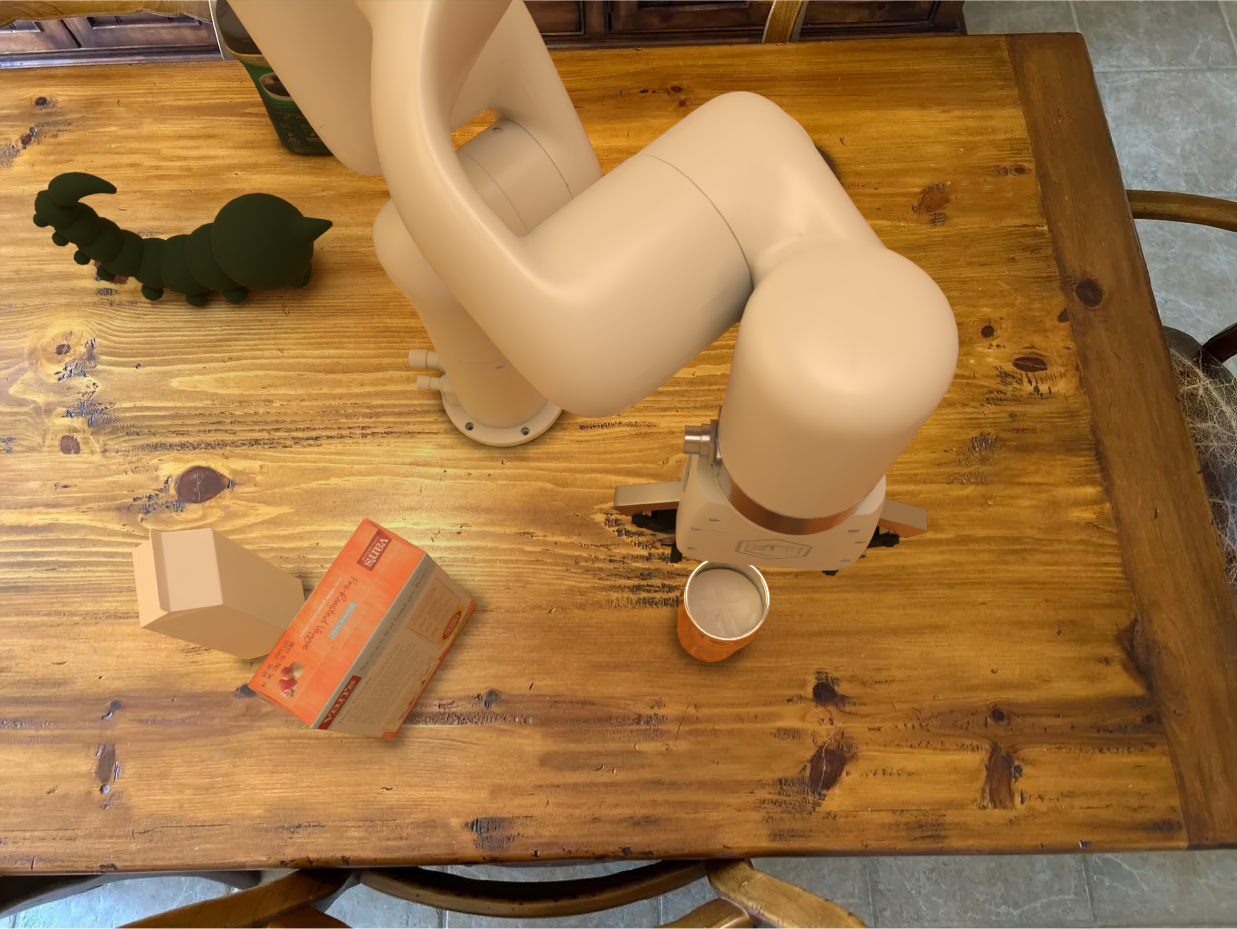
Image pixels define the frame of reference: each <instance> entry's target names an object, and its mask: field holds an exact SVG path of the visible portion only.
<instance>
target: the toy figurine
mask: <svg viewBox="0 0 1237 929" xmlns="http://www.w3.org/2000/svg"><path fill="white" fill-rule="evenodd" d="M117 192H118V188H117V187H116V185H115V184H114V183H111V182H110V181H108V180H107V179H103V178H102V177H99V176H97V175H96V174H95V175H94V174H91V173H88V172H82V171H81V172H80V171H72V172H71V171H70V172H63V173H61V174H58V175H56V176H55V177H53V178H52V179H51V180H49V183H48V184H47V189H43V190H39V191H38V192H37V193H36V194H37V195H36V198H35V199H34V211H35V213H34V214H33V216H32V222H33V224H34V225H35V226H36V227H37V228H41V229H42V228H48V227H52V228H53V230H54V232H53V233H52V235H51V241H52V243H53V244H54V245H55V246H57V247H61V248H62V247H63V248H64V247H66V246H68V245H69V244H72V245H75V246H76V247H77V250H75V251H74V254H73V261H74V262H75V263H76V264H77V265H80V266H86V265H89V264H90V263H91V260H92V261H95V262H98V263H100V264H99V265H98V267H97V268H96V277H98V278H99V280H101V281H102V282H103V281H104V282H112V281H114V280H115V278H116V277H121V278H134V279H135V280H136V281H137V282H138V283H140V284H141V289H140V293H141V295H142V296H143V297H144V299H147V300H148V301H152V302H156V301H159V300H160V299H162V298H163V297H164V294H165V289H168V290H170V292H174V293H177V294H179V295H182V296H185V301H186V302H187V304H188V305H190V306H193V307H196V308H200V307H203V306H205V304H206V303H207V300H208V297H207V293H208V292H210V291H217V292H220V294H221V295H222V297H223V298H224V300H225V301H226V302H227V303H231V304H236V305H240V304H243V303H244V302H246V301H247V300H248V299H249V295H250V290H254V291H261V292H273V291H279V290H280V291H281V290H285V289H287V288H289V287H291V288H294V289H301V288H304V287H306V286H307V285H308V284H309V283H310V281H311V278H312V276H313V275H312V274H313V262H312V261H313V257H314V253H315V241H317V240H318V239H319V238H320V237H321V236H323V235H324V234H325V233H326V232H328V231H329V230H331V228H332V227H333V226H334V223H333V221H332V220H331V219H326V218H318V217H311V216H304V214H303V213H302V212H301V211H300V210H299V209H298V208H297V207H296V206H295V205H293V204H292V202H291V203H290V202H289V201H288V200H286V199H284V198H282V197H280V196H277V195H275V194H271V193H264V192H252V193H251V192H250V193H245V194H242V195H240V196H238V197H235V198H232V199H230V200H229V201H228V202H227V203H225V204H224V205H223V206H222V208H220V210H219V211H218V213H217V214H216V216H215V217H214V219H213V222H207V223H204V224H201V225H200V226H198V227H196V228H195V229H194V230H193V231H191V232H190V233H189V234H188V233H182V234H176V235H172V236H169V237H167V238H166V239H165V238H163V237H157V236H156V237H154V236H150V237H145V238H143V237H142V236H141V235H139V234H137V233H136V232H134V231H132V230H128V229H125V228H124V229H123V228H121V227H120V226H119V225H118V224H117V223H116V222H114V221H113V220H111V219H109V218H108V217H104V216H100V215H99V214H98V213H97V211H96V210H95V209H94V208H93V207H92V206H90V205H88V203H85V202H82V201H80V200H81V199H83V198H85V197H89V196H92V195H98V194H99V195H100V194H105V195H106V194H107V195H115V194H117Z"/></svg>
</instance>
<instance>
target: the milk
mask: <svg viewBox="0 0 1237 929" xmlns="http://www.w3.org/2000/svg"><path fill="white" fill-rule="evenodd" d="M148 534H149V535H148V536H149V539H147V540H146V541H143V542H142V543H140V544H139V545H137V546H136V547H135V548H134V547H133V549H132V550H131V557H132V567H133V575H134V584H135V591H136V593H135V594H136V601H137V609H138V610H137V611H138V617H139V618H138V620H139V627H140V628H141V629H144V630H148V631H151V632H153V633H157V634H161V635H164V636H167V637H169V638H170V637H171V638H174V639H178V640H181V641H184V642H187V643H191V644H194V645H198V646H201V647H204V648H208V649H211V650H214V651H216V652H217V651H218V652H221V653H224V654H227V655H231V656H234V657H238V658H241V659H244V660H247V661H249V660H253V659H257V658H260V657H263V656H268V655H269V653H270V652H271V650H272V649H273V648H274V646H275V645H276V643H277V642H278V640H279V639H280V638H281V636H282V635H283V633H284V632H285V631H286V629H287V628H288V626H289V625H290V624H291V622H292V621H293V620H294V618H295V617H296V615H297V614H298V612H299V611H300V609H301V608H302V606H303V605H304V603H305V602H306V598H305V592H304V588H303V581H302V580H301V579H300V578H298V577H296V576H295V575H293V574H291V573H289V572H287V571H286V570H284V569H283V568H281V567H279V566H277V565H276V564H274V563H272V562H271V561H269V560H267V559H265V558H263V557H262V556H261V555H258V554H257V553H255V552H253V551H252V550H250V549H249V548H246V547H245V546H243V545H241V543H238V542H236V541H235V540H233V539H231V538H229V536H227V535H224V534H223V533H221V532H220V531H218V530H216V529H214V528H213V527H204V528H195V529H183V530H173V531H164V532H161V531H158V530H157V529H155V528H149V530H148Z"/></svg>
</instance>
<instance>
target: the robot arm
mask: <svg viewBox="0 0 1237 929" xmlns="http://www.w3.org/2000/svg"><path fill="white" fill-rule="evenodd" d="M227 2H228V3H229V5H230V6H231V8H232V9H233V11H234V12H235V14H236V15H237V17H238V18H239V20H240V21H241V23H242V24H243V26H244V27H245V29H246V30H247V32H248V33H249V35H250V36H251V38H252V39H253V41H254V42H255V44H256V45H257V46H258V48H259V49H260V51H261V52H262V54H263V55H264V57H265V58H266V60H267V61H268V63H269V64H270V66H271V67H272V69H273V70H274V72H275V73H276V75H277V76H278V78H279V79H280V81H281V82H282V84H283V85H284V87H285V88H286V90H287V91H288V92H289V94H290V95H291V97H292V98H293V100H294V101H295V103H296V104H297V106H298V107H299V109H300V110H301V112H302V113H303V114H304V116H305V117H306V119H307V120H308V122H309V123H310V125H311V126H312V128H313V129H314V130H315V132H316V133H317V134H318V136H319V137H320V138H321V140H322V141H323V142H324V144H325V145H326V146H327V147H328V149H329V150H330V151H331V152H332V153H331V154H332V155H333V156H334V157H335V158H336V159H337V160H338V161H339V163H341V164H342V165H343V166H344V167H345V168H346V169H349V171H352V172H353V173H355V174H357V175H360V176H364V177H377V176H383V178H384V182H385V184H386V188H387V190H388V193H389V195H390V198H388V200H386V202H385V203H384V204H383V206H382V207H381V208H380V210H379V211H378V213H377V215H376V216H375V218H374V221H373V224H372V229H371V240H372V241H371V243H372V246H373V251H374V253H375V255H376V257H377V259H378V262H379V264H380V265H381V267H382V269H383V270H384V272H385V273H386V275H387V276H388V278H389V279H390V280H391V282H392V283H393V284H394V285H395V286H396V288H397V289H398V290H399V291H400V292H401V293H402V295H403V296H404V297H405V298H406V300H407V301H408V302H409V304H410V305H411V306H412V307H413V309H414V310H415V312H416V314H417V315H418V317H419V319H420V321H421V323H422V325H423V327H424V329H425V331H426V334H427V336H428V338H429V340H430V341H431V344H432V346H433V348H434V350H431V349H425V348H424V349H423V348H414V347H413V348H410V349H409V351H408V353H407V354H408V355H407V363H408V367H409V368H410V369H423V370H429V369H435V370H439V371H440V373H441V376H440V377H439V376H432V375H421V374H418V375H417V377H416V389H418V390H424V391H433V390H434V391H440V394H441V401H442V404H443V407H444V410H445V412H446V414H447V416H448V418H449V419H450V421H451V423H452V424H453V425H454V427H456V428H457V430H458V431H459V432H461V433H462V434H463V435H464V436H466V437H467V438H469V439H471V440H472V441H474V442H476V443H479V444H482V445H485V446H489V447H500V448H505V447H506V448H507V447H515V446H518V445H522V444H526V443H528V442H530V441H532V440H535V439H537V438H539V437H540V436H541V435H543V434H544V433H546V432H547V431H548V430H550V428H551V427H552V426H553V425H554V424H555V423H556V421H558V419H559V417H560V416H561V414H562V413H563V411H566V412H568V413H570V414H573V415H575V416H577V417H581V418H586V419H605V418H611V417H614V416H616V415H619V414H622V413H624V412H626V411H627V410H629V409H632V408H633V407H635V406H637V405H639V403H641V402H642V401H644V400H645V399H646V398H648V397H649V396H650V395H652V394H653V393H654V392H656V391H658V390H659V389H660V387H662V386H663V385H664V384H665V383H667V382H668V381H669V380H670V379H672V378H673V377H674V376H675V375H677V374H678V373H679V372H680V371H681V370H683V369H684V368H685V367H686V366H688V365H689V364H690V363H691V362H692V361H693V360H695V359H696V358H697V357H698V356H700V355H701V354H702V353H703V352H704V351H705V350H707V349H708V348H709V347H710V346H711V345H713V344H714V343H715V342H717V340H719V339H720V338H721V337H722V336H724V335H725V334H726V333H727V332H729V330H731V329H732V328H733V327H734V326H735V325H737V324H739V326H738V330H737V334H736V339H735V345H734V349H733V354H732V359H731V363H730V368H729V373H728V378H727V381H726V386H725V387H726V388H725V392H724V397H723V401H722V404H719V405H718V410H717V414H716V417H715V418H710V419H709V420H710V421H709V423H704V422H701V425H688V424H685V425H684V434H683V450H682V455H686V456H687V457H686V459H685V461H684V464H683V467H682V471H681V474H680V478H679V480H670V481H657V482H648V483H647V482H646V483H645V482H644V483H635V484H625V485H617V486H615V488H614V496H613V506H612V507H613V509H614V510H615V511H617V512H618V513H620V514H621V515H623V516H624V517H626V518H627V517H629V518H631V519H630V520H631V521H630V523H631V524H632V525H634V526H635V527H636V528H637V529H646V530H648V531H650V532H652V533H656V535H655V542H657V543H659V544H660V547H668V548H669V547H670V557H669V558H670V559H669V562H670V564H678V565H679V563H681V562H682V561H683V556H684V557H686V558H689V559H692V560H697V561H702V562H703V561H709V562H719V563H729V564H741V565H753V566H755V567H766V568H768V567H769V568H781V569H791V570H792V569H793V570H807V571H808V570H809V571H821V573H822V574H824V576H827V577H829V576H830V577H834V576H836V575H837V574H838V572H839V571H840V570H844V569H846V568H848V567H850V566H851V565H853V564H855V562H857V561H858V560H860V559H865V558H867V550H868V549H874V548H875V549H876V548H882V547H885V548H894V547H895V546H896V545H899V544H900V538H903V539H908V538H912V537H916V536H918V535H923V534H925V533H926V534H927V533H928V510H927V509H925V508H923V507H920V506H915V505H912V504H908V503H904V502H900V501H896V500H892V499H889V498H886V494H887V477H886V474H887V472H888V471H889V470H890V468H891V467H892V466H893V464H894V463H895V462H896V461H897V460H898V458H899V457H900V456H901V455H902V453H903V452H904V451H905V450H906V448H907V447H908V446H909V444H910V443H911V442H912V441H913V440H914V438H915V437H916V435H918V433H919V432H920V431H921V429H922V428H923V427H924V425H925V424H926V423H927V422H928V421H929V419H930V418H931V416H932V415H933V414H934V413H935V412H936V410H937V409H938V407H939V406H940V405H941V402H942V401H943V399H944V398H945V396H946V395H947V393H948V391H949V389H950V387H951V385H952V384H953V380H954V378H955V374H956V370H957V366H958V360H959V354H960V345H959V344H960V342H959V330H958V324H957V322H956V316H955V314H954V311H953V308H952V306H951V304H950V302H949V300H948V298H947V296H946V294H945V293H944V292H943V290H942V289H941V287H940V286H939V284H938V283H936V282H935V280H934V279H933V278H932V277H931V276H930V275H929V274H928V272H926V271H925V270H924V269H923V268H921V267H920V266H919V265H917V263H915V262H913V261H912V260H911V259H908V257H905V256H903V255H902V254H900V253H898V252H896V251H894V250H892V249H889V248H887V247H886V246H885V244H884V243H883V241H882V240H881V238H880V237H879V236H878V235H877V233H876V231H874V229H873V228H872V226H871V224H869V222H868V221H867V220H866V218H865V217H864V216H863V214H862V213H861V211H860V210H859V209H858V208H857V206H856V205H855V203H854V201H853V200H852V198H851V197H850V196H849V194H848V193H847V192H846V190H845V188H844V187H843V185H842V184H841V182H840V181H839V179H838V178H837V176H836V177H835V175H834V174H833V172H832V171H831V169H830V168H829V166H828V165H827V163H826V162H825V160H824V159H823V157H822V156H821V155H820V153H819V152H818V150H817V149H816V147H815V143H814V142H813V140H812V138H811V136H810V135H809V133H808V132H807V131H806V130H805V128H804V127H803V125H802V124H800V123H799V122H798V121H797V120H796V119H795V118H794V117H793V116H791V115H789V114H788V113H787V112H786V111H785V110H784V109H783V108H782V107H780V106H779V105H778V104H777V103H775V102H773V101H772V100H771V99H769V98H767V97H765V96H763V95H761V94H758V93H755V92H751V91H746V90H744V91H731V92H726V93H723V94H720V95H717V96H715V97H714V98H711V99H709V100H708V101H707V102H705V103H703V104H702V105H700V106H698V107H697V108H695V109H694V110H693V111H691V112H689V114H687V115H685V116H684V117H683V118H682V119H680V120H679V121H677V123H675V124H673V125H672V126H671V127H669V129H667V130H666V131H664V132H663V133H662V134H660V135H659V136H658V137H656V138H655V139H654V140H652V141H650V143H648V144H647V145H646V146H645V147H643V148H641V149H640V150H639V151H638V152H636V153H635V154H634V155H632V156H630V157H627V158H626V159H625V160H623V161H622V162H621V163H619V164H618V165H617V166H615V167H614V168H613V169H611V170H610V171H609V172H607V173H605V175H603V171H602V168H601V165H600V161H599V159H598V157H597V153H596V151H595V149H594V147H593V145H592V142H591V140H590V138H589V135H588V134H587V131H586V129H585V127H584V125H583V123H582V121H581V118H580V116H579V115H578V112H577V109H576V108H575V106H574V103H573V101H572V99H571V97H570V94H569V92H568V90H567V88H566V87H565V85H564V82H563V80H562V78H561V76H560V74H559V72H558V70H557V67H556V65H555V63H554V60H553V59H552V57H551V54H550V53H549V50H548V47H547V46H546V43H545V41H544V39H543V37H542V35H541V33H540V31H539V29H538V27H537V24H536V23H535V21H534V19H533V17H532V14H531V13H530V11H529V9H528V7H527V6H526V3H525V2H524V1H523V0H227ZM488 109H489V110H490V112H491V113H492V115H493V116H494V119H495V121H494V122H493V123H492V124H490V125H489V126H487V127H486V128H485V129H483V130H482V131H480V132H479V133H477V134H476V135H474V136H473V137H471V138H470V139H469V140H468V141H466V142H465V143H463V144H462V145H460V146H459V147H457V148H456V149H455V145H454V142H453V138H452V134H453V133H454V132H456V131H457V130H458V129H460V128H461V127H463V126H464V125H466V124H468V122H470V121H471V120H473V119H474V118H476V117H477V116H479V115H480V114H481V113H482V112H484V111H486V110H488ZM471 428H472V429H471ZM525 433H527V434H525Z"/></svg>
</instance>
